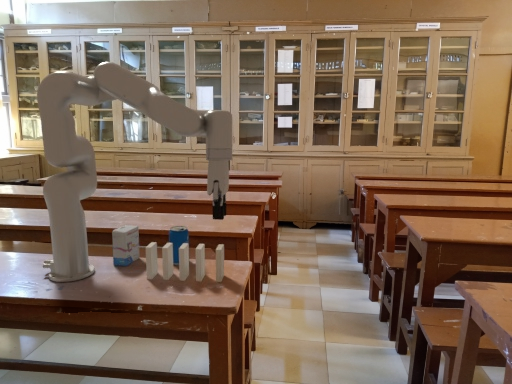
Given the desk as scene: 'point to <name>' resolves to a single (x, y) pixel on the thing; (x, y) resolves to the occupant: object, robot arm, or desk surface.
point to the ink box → (125, 245)
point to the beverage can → (178, 240)
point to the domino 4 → (200, 262)
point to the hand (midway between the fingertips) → (219, 216)
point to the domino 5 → (219, 263)
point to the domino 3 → (184, 261)
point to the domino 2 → (167, 261)
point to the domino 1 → (151, 260)
